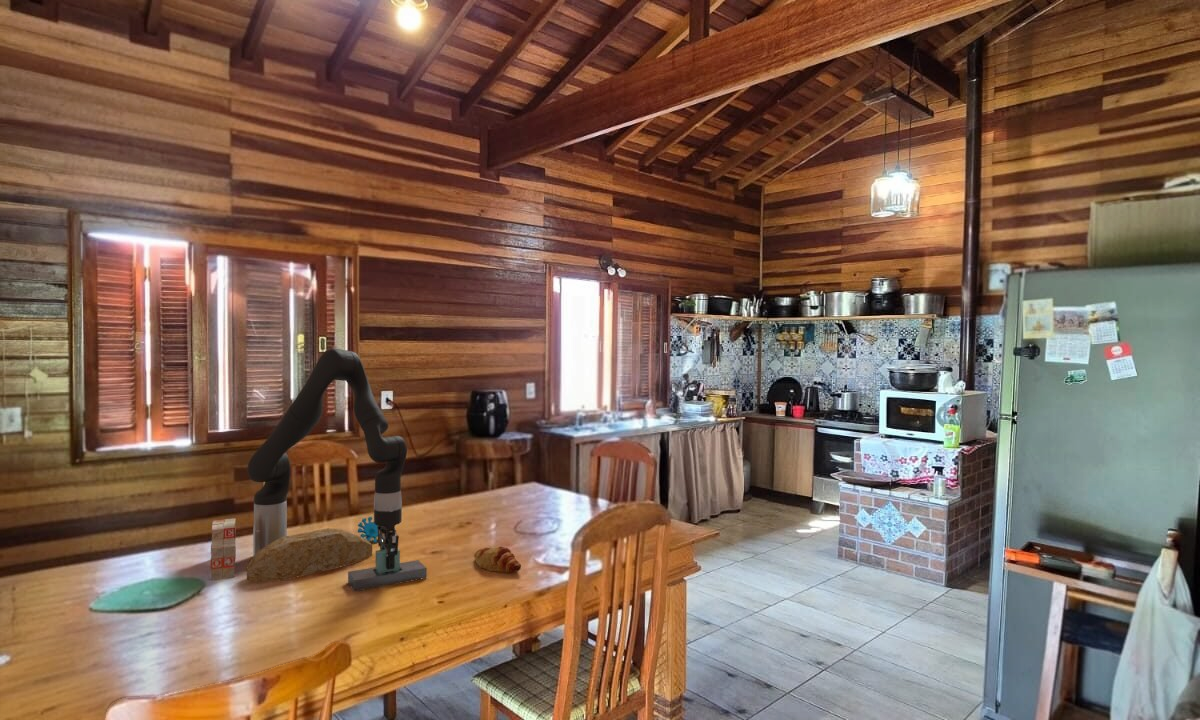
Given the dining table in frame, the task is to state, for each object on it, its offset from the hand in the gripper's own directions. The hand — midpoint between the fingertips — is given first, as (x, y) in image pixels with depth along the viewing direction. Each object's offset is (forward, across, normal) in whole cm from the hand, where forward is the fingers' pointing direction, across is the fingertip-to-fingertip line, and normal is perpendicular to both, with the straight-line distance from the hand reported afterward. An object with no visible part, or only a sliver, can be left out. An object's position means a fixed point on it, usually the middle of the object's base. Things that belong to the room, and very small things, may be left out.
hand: (387, 565), depth 190 cm
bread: (+5, -23, -16) cm, 28 cm away
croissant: (+5, +5, +32) cm, 32 cm away
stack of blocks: (+5, -36, -39) cm, 53 cm away
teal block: (+4, 0, 0) cm, 4 cm away
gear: (+4, -41, +6) cm, 42 cm away
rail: (+4, 0, 0) cm, 4 cm away
